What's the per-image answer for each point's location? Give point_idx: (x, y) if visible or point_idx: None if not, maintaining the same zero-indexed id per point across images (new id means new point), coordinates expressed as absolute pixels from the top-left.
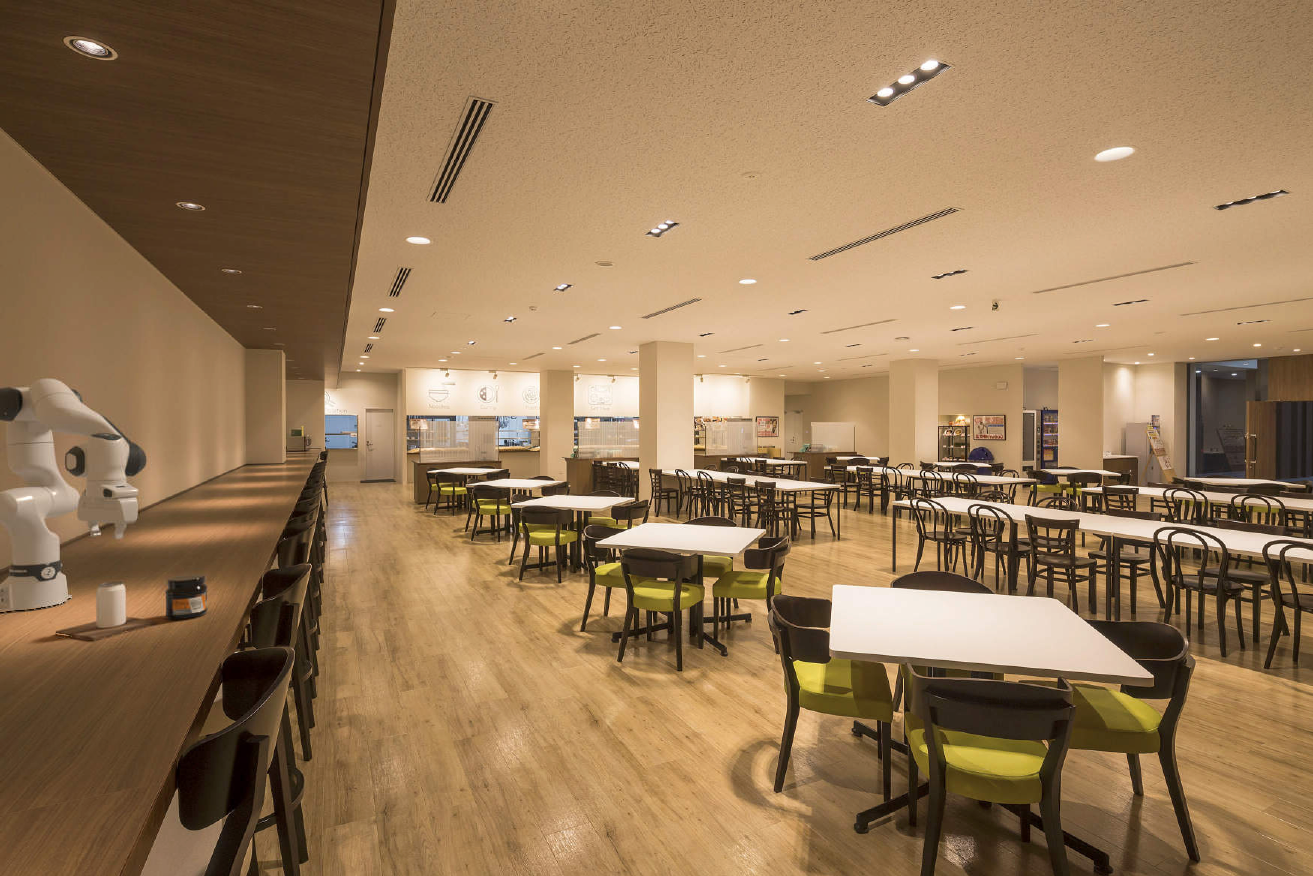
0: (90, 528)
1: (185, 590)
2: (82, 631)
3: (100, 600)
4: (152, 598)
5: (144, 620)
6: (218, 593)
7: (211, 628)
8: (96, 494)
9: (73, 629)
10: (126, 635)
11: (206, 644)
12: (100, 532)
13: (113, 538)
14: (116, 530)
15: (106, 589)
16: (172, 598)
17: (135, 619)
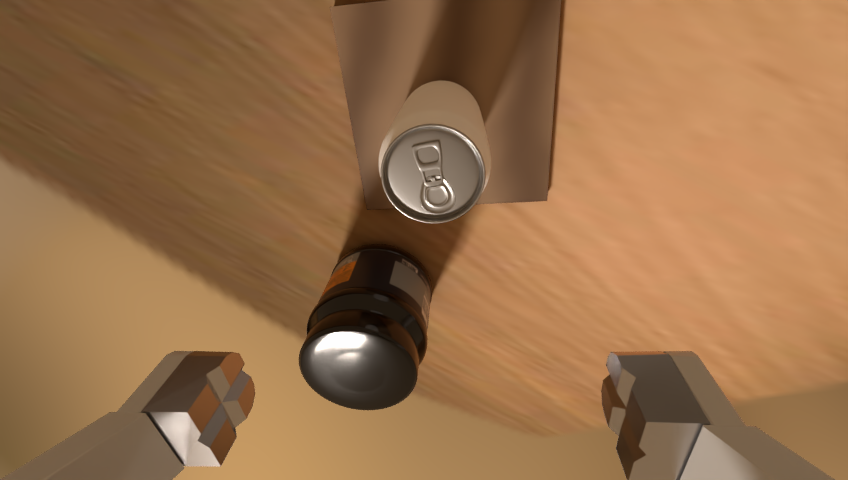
0: (768, 466)
1: (314, 318)
2: (456, 31)
3: (419, 103)
4: None
5: None
6: (535, 421)
7: (193, 237)
8: None
9: (519, 30)
10: (316, 99)
11: (31, 146)
12: (617, 446)
13: (235, 353)
14: (60, 448)
15: (394, 133)
16: (347, 282)
17: None
